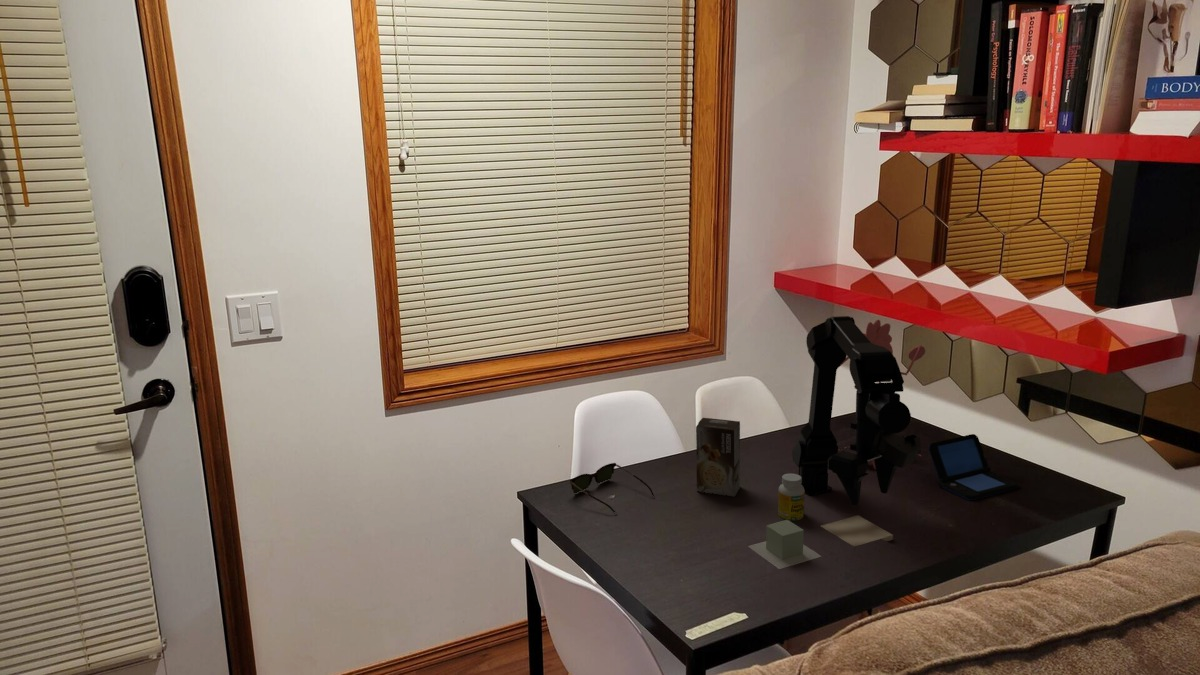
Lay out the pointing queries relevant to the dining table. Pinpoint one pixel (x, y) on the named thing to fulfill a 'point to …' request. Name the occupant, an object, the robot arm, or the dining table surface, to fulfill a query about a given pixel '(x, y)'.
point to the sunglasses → (597, 479)
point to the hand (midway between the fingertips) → (869, 499)
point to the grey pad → (777, 562)
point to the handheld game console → (966, 468)
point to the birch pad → (857, 531)
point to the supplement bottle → (791, 497)
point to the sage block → (784, 539)
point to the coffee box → (718, 456)
